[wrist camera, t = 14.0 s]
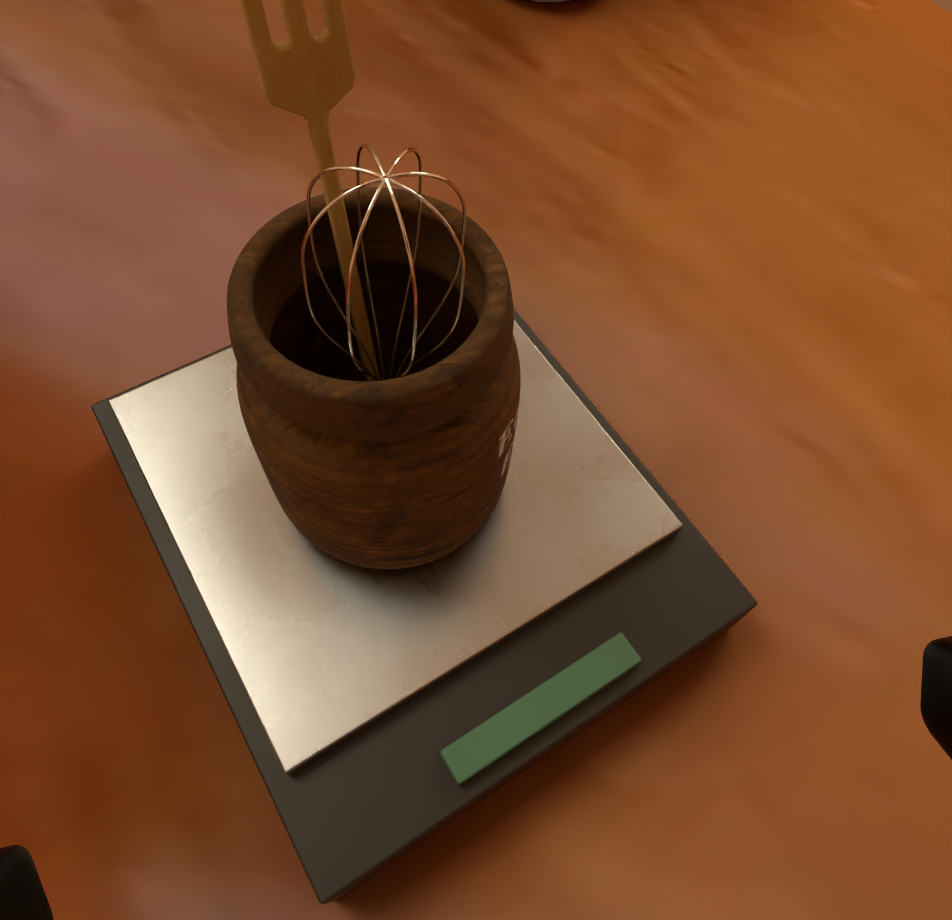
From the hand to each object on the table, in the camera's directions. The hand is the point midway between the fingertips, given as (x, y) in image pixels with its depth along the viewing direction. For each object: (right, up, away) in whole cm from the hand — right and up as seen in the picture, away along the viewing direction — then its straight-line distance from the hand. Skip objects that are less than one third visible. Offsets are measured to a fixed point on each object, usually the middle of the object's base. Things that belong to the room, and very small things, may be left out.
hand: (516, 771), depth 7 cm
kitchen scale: (-2, +1, +14) cm, 14 cm away
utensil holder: (-3, +3, +12) cm, 13 cm away
